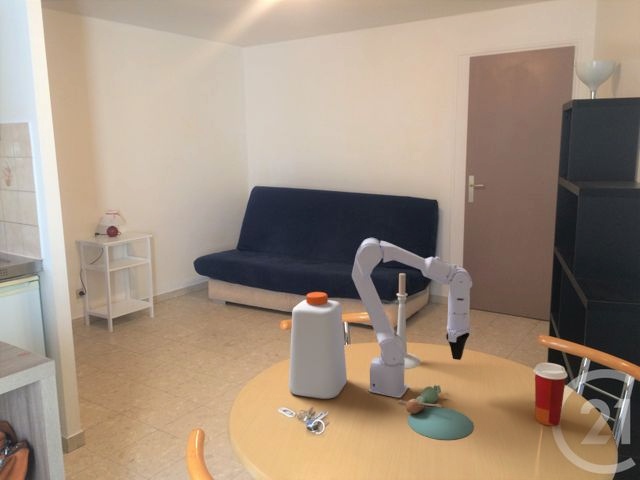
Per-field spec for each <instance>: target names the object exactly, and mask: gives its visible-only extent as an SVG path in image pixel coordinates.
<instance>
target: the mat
mask: <svg viewBox="0 0 640 480" xmlns="http://www.w3.org/2000/svg"><path fill="white" fill-rule="evenodd" d="M407 423H408V425H409V427H410V428H411V429H412V430H413V431H414V432H416V434H419V435H422V436H424V437H425V438H430V439H435V440H439V441H440V440H441V441H443V440H444V441H452V440H460V439H463V438H465V437H467V436H469V435H470V434H471V433H472V432H473V429H474V424H473V421H472V420H471V418H469V416H467V415H466V414H464V413H462V412H460V411H458V410H455V409H451V408H448V407H436V406H426V407H425V408H424V409H423V410H421V411H420V412H418V413H416V414H412V413H410V414H409V416H408V418H407Z"/></svg>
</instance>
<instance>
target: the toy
mask: <svg viewBox="0 0 640 480" xmlns="http://www.w3.org/2000/svg"><path fill="white" fill-rule="evenodd" d="M440 393H442V389H441V385H440V384H437V385H436V384H434V385H433V387H432V386H427V387H426V386H425V388H423V389H422V390H421V394H420V396H417V397H416V398H412V399H409V400H408V401H405V400H404V401H403V400H401V399H400V400H399V401H398V402H397V403H398V404H399V405H400V404H405V409H406V411H407V412H408V413H410V414H411V413H412V414H416V413H418V412H420V411H421V410H423V409H424V408H426V407H442V404H440V403H437V404H435V402H436V401H437V400H438V396H439V394H440ZM442 408H443V407H442Z"/></svg>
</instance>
